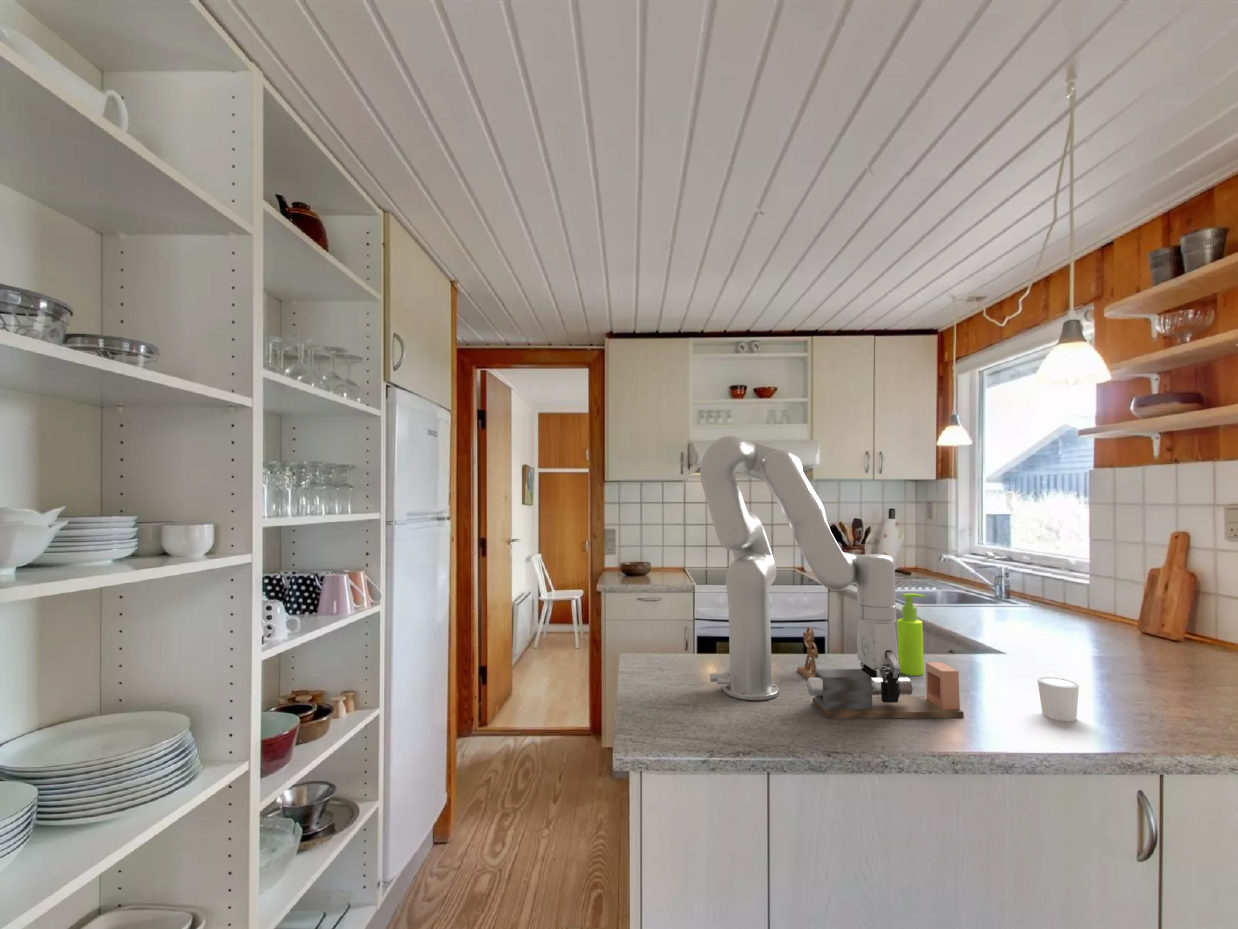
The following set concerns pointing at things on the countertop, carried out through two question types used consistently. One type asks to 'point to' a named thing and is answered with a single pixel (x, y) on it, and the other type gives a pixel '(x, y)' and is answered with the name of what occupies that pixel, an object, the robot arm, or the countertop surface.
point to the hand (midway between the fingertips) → (879, 693)
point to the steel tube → (903, 686)
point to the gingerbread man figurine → (809, 655)
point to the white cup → (1058, 698)
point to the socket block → (942, 685)
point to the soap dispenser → (910, 638)
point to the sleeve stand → (869, 699)
